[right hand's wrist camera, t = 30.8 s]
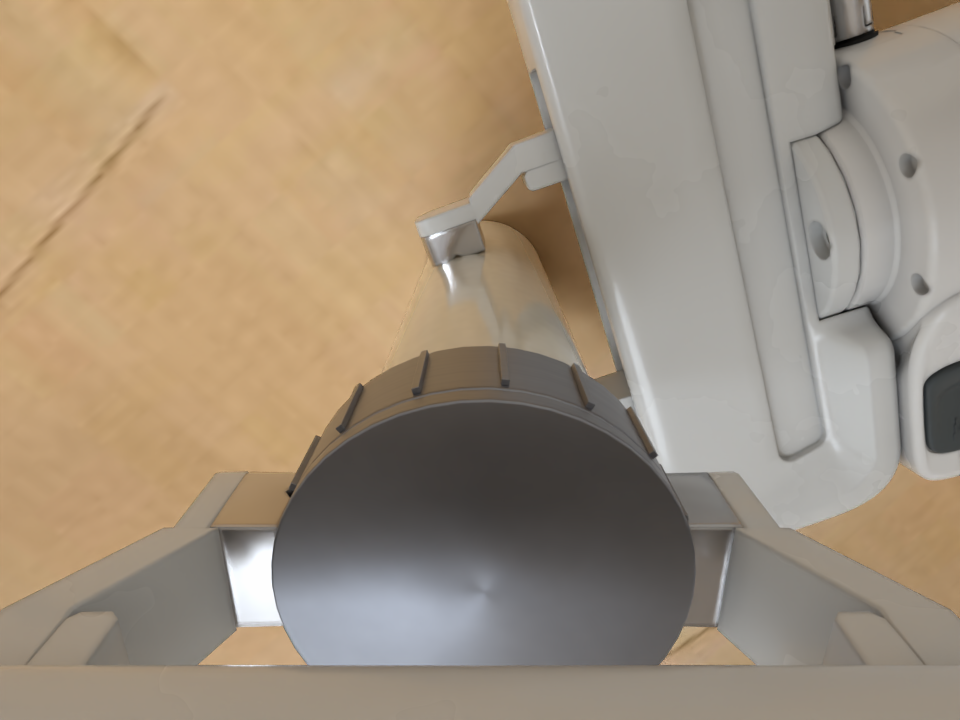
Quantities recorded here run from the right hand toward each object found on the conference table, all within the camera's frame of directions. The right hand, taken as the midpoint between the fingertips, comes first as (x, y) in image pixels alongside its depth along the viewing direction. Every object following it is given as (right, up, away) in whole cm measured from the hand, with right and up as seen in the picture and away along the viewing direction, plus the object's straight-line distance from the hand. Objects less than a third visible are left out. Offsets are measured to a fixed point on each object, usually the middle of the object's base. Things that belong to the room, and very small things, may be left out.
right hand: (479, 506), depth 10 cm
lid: (0, -1, -2) cm, 2 cm away
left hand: (-1, +3, +10) cm, 10 cm away
